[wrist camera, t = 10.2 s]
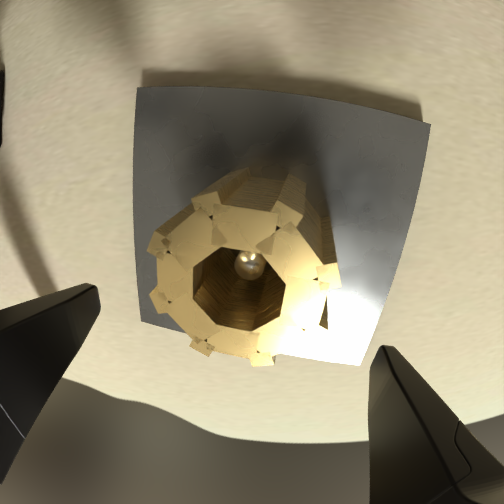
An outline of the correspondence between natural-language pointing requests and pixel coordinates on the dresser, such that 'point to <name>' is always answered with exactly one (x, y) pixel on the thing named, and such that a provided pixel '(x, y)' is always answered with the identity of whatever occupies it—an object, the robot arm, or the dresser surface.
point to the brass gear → (234, 286)
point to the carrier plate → (278, 167)
